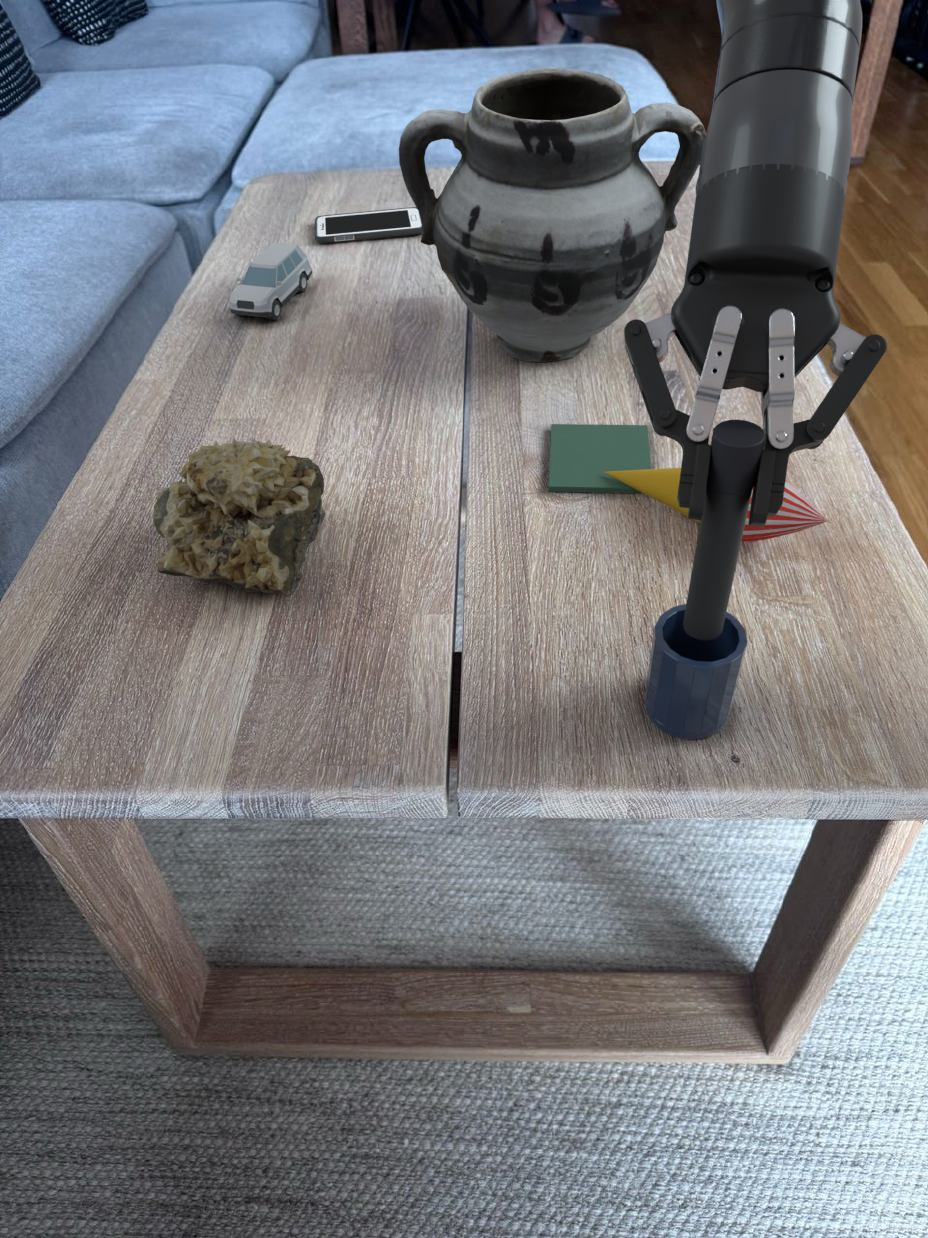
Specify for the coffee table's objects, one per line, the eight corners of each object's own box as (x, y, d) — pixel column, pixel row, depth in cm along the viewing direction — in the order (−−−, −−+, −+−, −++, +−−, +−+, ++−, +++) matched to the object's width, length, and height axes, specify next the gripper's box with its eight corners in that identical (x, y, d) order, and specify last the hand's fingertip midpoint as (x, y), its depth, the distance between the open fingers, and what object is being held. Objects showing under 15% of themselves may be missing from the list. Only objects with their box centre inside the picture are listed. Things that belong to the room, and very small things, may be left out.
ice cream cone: (612, 509, 83) (830, 563, 71) (575, 504, 78) (802, 560, 66) (629, 441, 82) (853, 484, 70) (592, 431, 77) (827, 475, 65)
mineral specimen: (123, 600, 72) (80, 498, 65) (193, 502, 81) (162, 404, 74) (295, 623, 69) (270, 519, 62) (348, 519, 78) (331, 418, 71)
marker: (722, 613, 57) (761, 418, 47) (726, 642, 55) (769, 446, 45) (679, 612, 57) (710, 418, 47) (682, 641, 55) (715, 446, 45)
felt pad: (646, 430, 86) (647, 424, 85) (652, 493, 78) (653, 488, 78) (551, 429, 86) (551, 423, 86) (548, 491, 79) (548, 486, 79)
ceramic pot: (672, 295, 105) (702, 47, 88) (689, 399, 89) (730, 120, 72) (427, 296, 108) (409, 56, 91) (400, 397, 92) (372, 127, 74)
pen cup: (724, 677, 63) (741, 604, 58) (733, 741, 59) (752, 668, 54) (642, 674, 64) (652, 601, 59) (646, 737, 60) (657, 665, 55)
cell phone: (425, 234, 121) (424, 227, 121) (315, 244, 121) (314, 237, 120) (420, 213, 127) (419, 206, 126) (315, 223, 126) (314, 215, 125)
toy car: (227, 324, 105) (217, 282, 102) (275, 277, 114) (267, 237, 111) (271, 329, 104) (263, 286, 100) (317, 281, 113) (310, 240, 109)
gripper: (634, 154, 45) (589, 497, 45) (933, 161, 43) (885, 527, 43) (636, 221, 53) (597, 517, 53) (892, 231, 50) (850, 543, 50)
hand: (726, 519), depth 48 cm, fingers closed on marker, 2 cm apart
